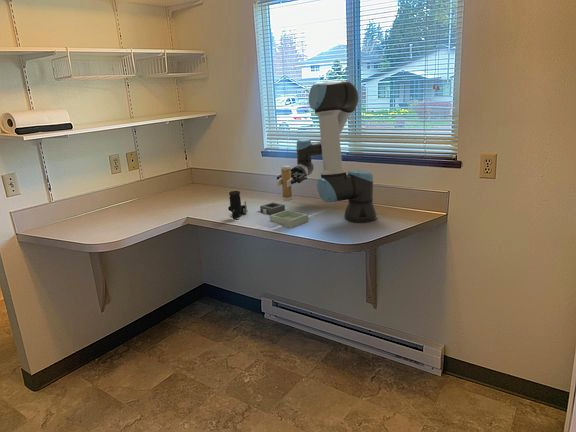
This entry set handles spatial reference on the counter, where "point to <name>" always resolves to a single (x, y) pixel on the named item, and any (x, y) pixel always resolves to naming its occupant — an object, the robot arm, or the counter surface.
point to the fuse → (285, 177)
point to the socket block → (271, 208)
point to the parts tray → (289, 218)
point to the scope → (236, 205)
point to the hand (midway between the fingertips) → (282, 183)
